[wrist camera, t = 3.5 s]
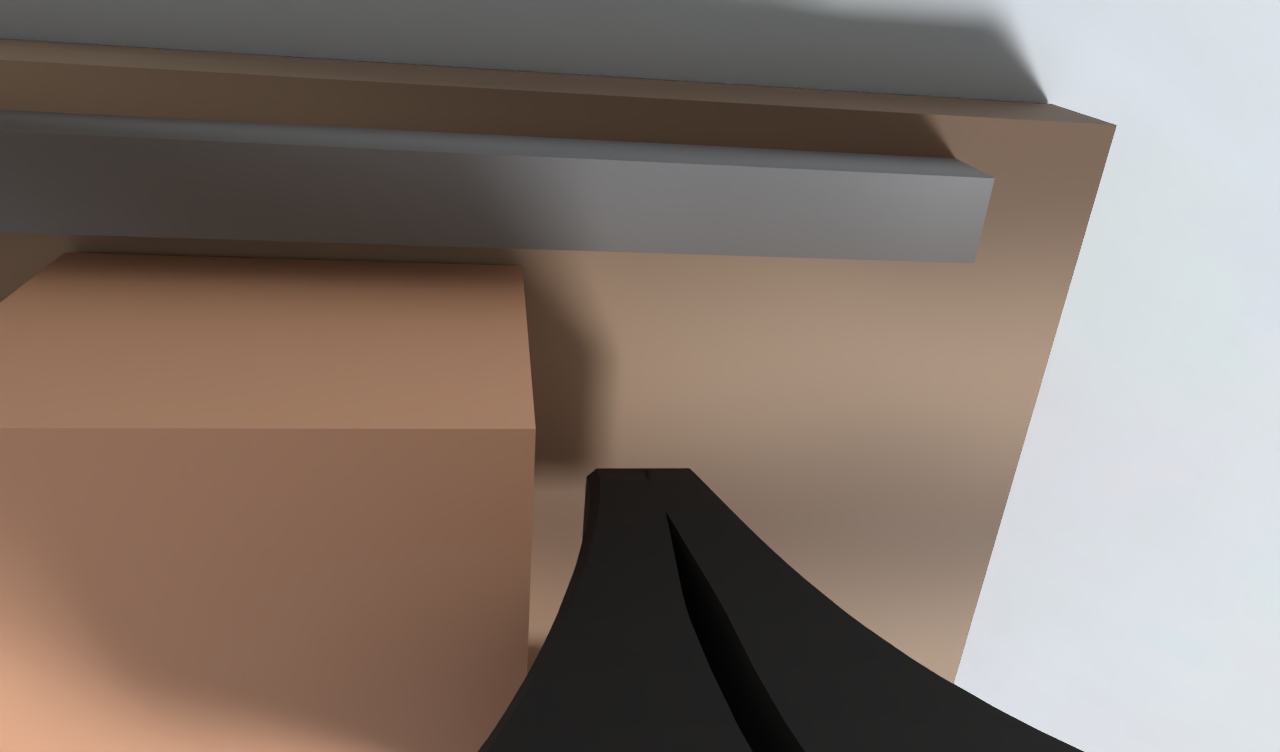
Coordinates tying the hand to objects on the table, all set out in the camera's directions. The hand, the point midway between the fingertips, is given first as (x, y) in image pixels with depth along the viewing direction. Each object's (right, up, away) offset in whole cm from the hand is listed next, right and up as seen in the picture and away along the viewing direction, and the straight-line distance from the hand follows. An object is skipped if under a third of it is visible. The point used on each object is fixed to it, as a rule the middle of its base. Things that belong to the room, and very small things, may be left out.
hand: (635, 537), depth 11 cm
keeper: (-4, +1, +1) cm, 4 cm away
